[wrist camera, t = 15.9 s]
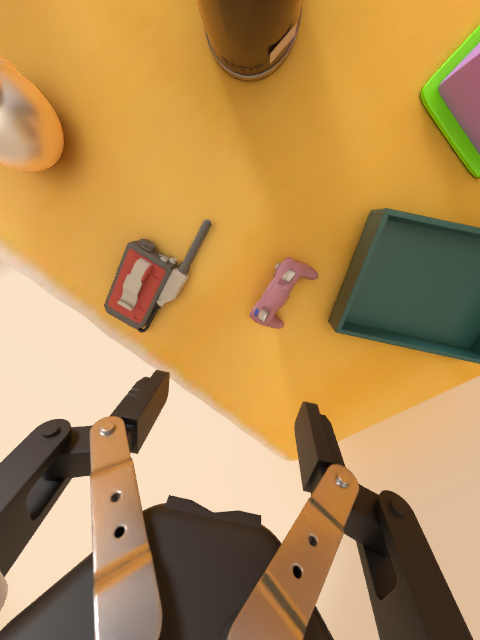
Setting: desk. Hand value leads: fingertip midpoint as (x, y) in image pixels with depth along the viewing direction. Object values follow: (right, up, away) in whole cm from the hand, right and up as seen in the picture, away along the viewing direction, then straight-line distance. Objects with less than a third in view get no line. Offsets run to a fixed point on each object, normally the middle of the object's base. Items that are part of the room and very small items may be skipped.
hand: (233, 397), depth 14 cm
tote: (+25, +9, +17) cm, 32 cm away
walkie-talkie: (-11, +12, +20) cm, 26 cm away
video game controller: (+6, +9, +20) cm, 22 cm away
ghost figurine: (-23, +28, +15) cm, 39 cm away
